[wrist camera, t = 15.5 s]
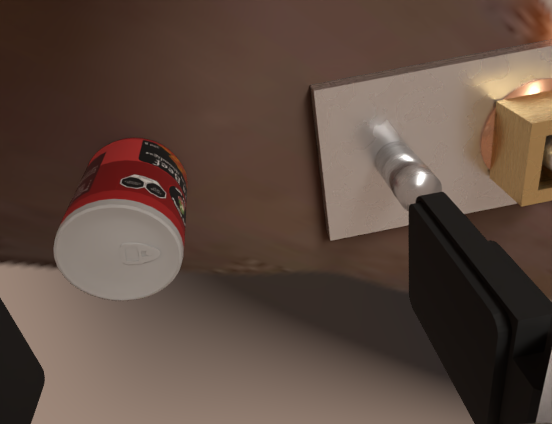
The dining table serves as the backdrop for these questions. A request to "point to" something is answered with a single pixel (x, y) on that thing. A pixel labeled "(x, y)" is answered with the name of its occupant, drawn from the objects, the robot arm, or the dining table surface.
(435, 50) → the dining table surface
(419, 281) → the robot arm
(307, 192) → the dining table surface
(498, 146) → the gold square frame
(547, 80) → the peg board
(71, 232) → the canned food
